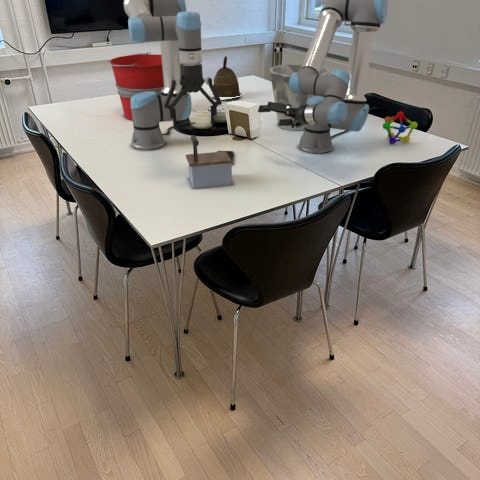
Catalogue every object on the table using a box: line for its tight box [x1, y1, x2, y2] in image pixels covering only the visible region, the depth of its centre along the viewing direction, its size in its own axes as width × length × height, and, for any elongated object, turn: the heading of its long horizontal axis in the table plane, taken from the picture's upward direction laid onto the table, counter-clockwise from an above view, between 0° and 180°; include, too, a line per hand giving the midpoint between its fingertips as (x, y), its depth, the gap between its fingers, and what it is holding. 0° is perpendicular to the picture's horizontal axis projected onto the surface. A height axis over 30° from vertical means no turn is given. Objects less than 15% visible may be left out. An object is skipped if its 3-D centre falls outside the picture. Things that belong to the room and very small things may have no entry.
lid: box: [185, 134, 233, 167], centre depth 165 cm, size 16×10×9 cm, turn 104°
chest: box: [188, 162, 233, 190], centre depth 170 cm, size 15×10×9 cm, turn 104°
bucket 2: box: [269, 63, 330, 131], centre depth 226 cm, size 30×30×28 cm
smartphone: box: [216, 150, 234, 163], centre depth 192 cm, size 7×1×15 cm
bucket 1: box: [106, 51, 164, 121], centre depth 240 cm, size 35×35×30 cm
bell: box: [212, 56, 242, 97], centre depth 278 cm, size 19×26×20 cm
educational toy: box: [382, 110, 418, 145], centre depth 207 cm, size 16×13×15 cm
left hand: (194, 126), depth 159 cm, fingers open, 13 cm apart
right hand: (269, 115), depth 186 cm, fingers open, 13 cm apart
